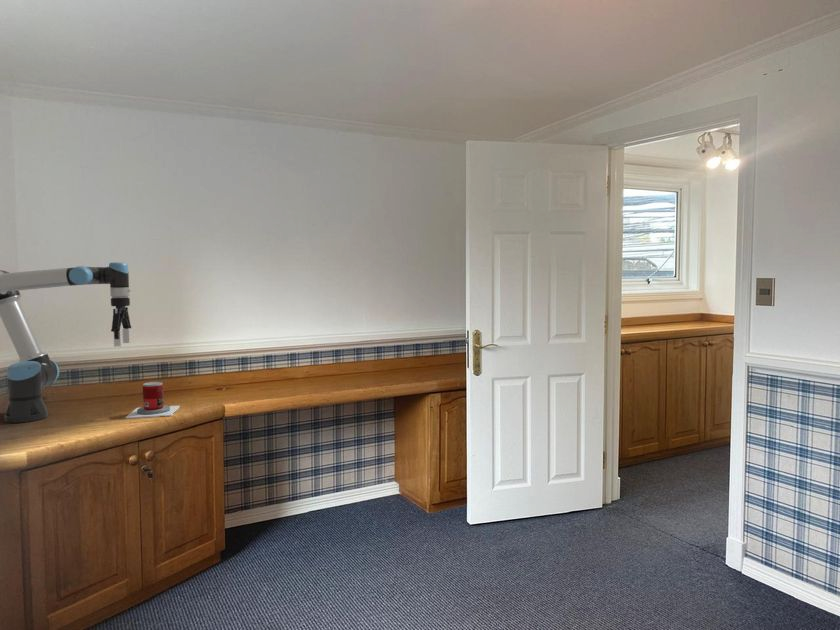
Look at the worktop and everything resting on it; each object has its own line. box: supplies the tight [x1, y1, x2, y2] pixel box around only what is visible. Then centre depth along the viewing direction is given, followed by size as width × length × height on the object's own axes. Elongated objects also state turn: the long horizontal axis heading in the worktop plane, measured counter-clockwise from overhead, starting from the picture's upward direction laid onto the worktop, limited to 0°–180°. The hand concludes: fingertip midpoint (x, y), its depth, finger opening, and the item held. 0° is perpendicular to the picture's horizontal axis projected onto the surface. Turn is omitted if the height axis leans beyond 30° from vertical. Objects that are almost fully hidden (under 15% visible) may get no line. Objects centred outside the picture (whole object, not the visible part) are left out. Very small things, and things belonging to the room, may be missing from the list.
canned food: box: [142, 381, 164, 410], centre depth 256 cm, size 8×8×11 cm
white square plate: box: [125, 404, 180, 420], centre depth 256 cm, size 18×18×2 cm
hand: (122, 344), depth 264 cm, fingers open, 13 cm apart
